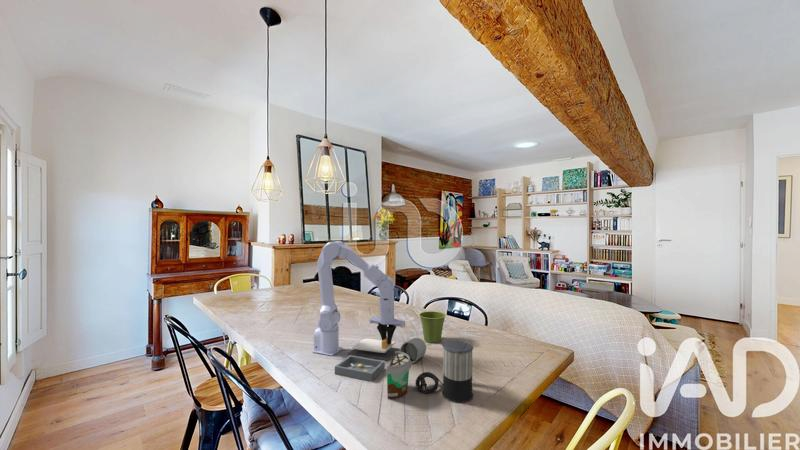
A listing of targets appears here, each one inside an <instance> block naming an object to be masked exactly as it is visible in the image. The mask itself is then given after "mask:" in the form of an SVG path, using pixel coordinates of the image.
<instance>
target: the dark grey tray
mask: <svg viewBox="0 0 800 450" xmlns="http://www.w3.org/2000/svg"><path fill="white" fill-rule="evenodd" d="M385 365H386V364H385V361H384V360H378V359H372V358H367V357H361V356H355V355H350V354H349V355H348V356H347V357H346V358H344V359H343V360H342V361H340V362H339V363H338V364H336V365H334V375H337V376H341V377H346V378H350V379H351V378H352V379H357V380H362V381H366V382H373V381H374V380H375V379H376V378H377V377H379V375H380V374H381V373H382V372H383V371H384V370H385V369H386V368H385Z"/></svg>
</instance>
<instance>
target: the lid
mask: <svg viewBox="0 0 800 450" xmlns="http://www.w3.org/2000/svg"><path fill="white" fill-rule="evenodd" d="M395 344H396V341H393V340H392V341H391V344H388V343H387V337H386V338H385V339H384V340H383V341H382V339H376V338H375V339H374V338H363V339H361V340H360V341H359V342H358V343H356V344H354V345H353V346H352V349H351V350H353V349H358V350H364V351H372V352H379V353H386V352H387V351H388V350H389V349H390V348H391V347H393V346H394V345H395Z"/></svg>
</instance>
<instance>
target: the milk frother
mask: <svg viewBox="0 0 800 450" xmlns="http://www.w3.org/2000/svg"><path fill="white" fill-rule="evenodd" d="M441 346H442V350H443V353H442V354H443V355H442V362H443V365H442V368H443V370H442V371H443V372H442V373H443V374H442V375H443V376H442V377H443V380H442V381H441V379H439V378H438V376H436V375H435V374H434V373H433V372H430V371H424V372H422V373H420V374H419V375H418V376H417V377H416V380H415V387H416V389H417V390H418V391H420V392H421V393H425V394H432V393H434V392H436V391H437V390H438V388H439V385H440V384H441V386H442V391H441V394H442V396H443V397H444V398H445V399H447V401H450V402H454V403H467V402H469V401H471V400H473V397H474V393H473V350H474V346H473V344H472V343H471V342H468V341H465V340H461V339H449V340H446V341H445V342H443V343H442V345H441ZM425 378H430V379H432V380H433V381H434V385H433V386H432V387H431V388H427V386H428V384H427V382H426V379H425ZM439 383H440V384H439Z"/></svg>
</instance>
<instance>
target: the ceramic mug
mask: <svg viewBox="0 0 800 450" xmlns="http://www.w3.org/2000/svg"><path fill="white" fill-rule="evenodd" d="M399 348H400V349H399V351H400V352H404V353H406V354H407V355H408V356H409V358H410V360H411V364H414V363H416V362H417V361H418V360H420V359H421V358H423V357H424V355H425V353H426V351H427V345H426V342H425V340H424V339H421V338H419V337H414V338H412V339H410V340H407V341H405V342H403V343H402V345H401V346H400V347H399Z"/></svg>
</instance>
